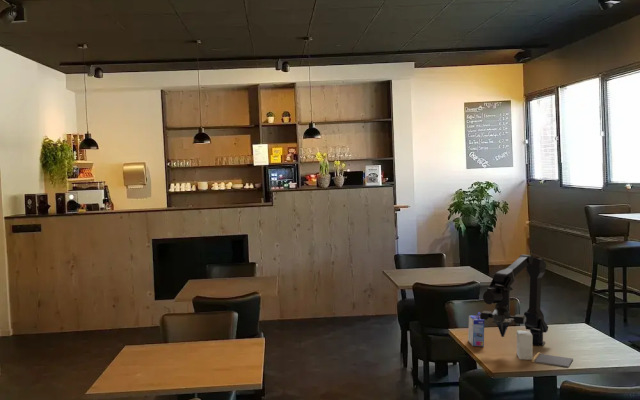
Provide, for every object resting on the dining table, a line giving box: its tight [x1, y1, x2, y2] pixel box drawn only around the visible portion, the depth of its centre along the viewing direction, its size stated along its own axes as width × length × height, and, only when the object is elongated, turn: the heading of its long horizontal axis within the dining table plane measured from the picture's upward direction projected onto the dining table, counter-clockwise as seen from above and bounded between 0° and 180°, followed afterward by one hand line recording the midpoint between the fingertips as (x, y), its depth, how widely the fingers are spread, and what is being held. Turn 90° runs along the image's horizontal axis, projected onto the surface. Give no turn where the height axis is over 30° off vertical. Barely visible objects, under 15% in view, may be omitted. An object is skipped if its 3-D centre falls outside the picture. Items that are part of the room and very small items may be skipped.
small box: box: [516, 330, 534, 361], centre depth 255 cm, size 8×6×10 cm
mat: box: [531, 351, 574, 368], centre depth 249 cm, size 12×14×1 cm
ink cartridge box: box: [467, 311, 486, 347], centre depth 276 cm, size 10×6×14 cm, turn 178°
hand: (502, 336), depth 260 cm, fingers closed
